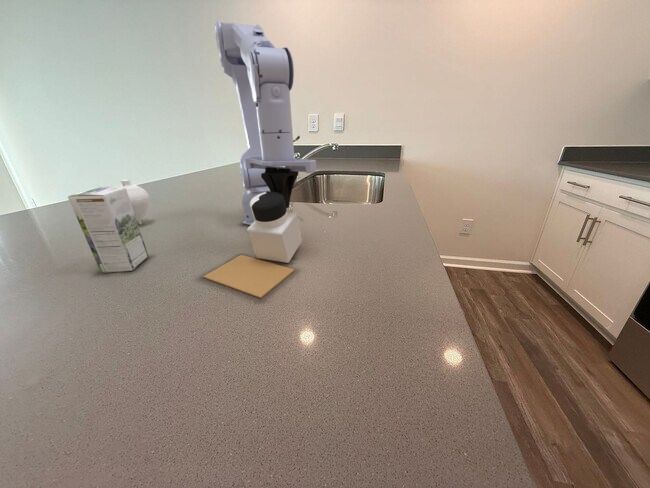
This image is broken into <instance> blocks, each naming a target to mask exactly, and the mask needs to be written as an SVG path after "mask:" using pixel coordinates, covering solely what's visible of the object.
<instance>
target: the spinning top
mask: <svg viewBox="0 0 650 488" xmlns="http://www.w3.org/2000/svg"><path fill="white" fill-rule="evenodd" d="M120 183H121V186H120V187H123V188H126V190H127V193H128V196H129V199H130V202H131V205H132V208H133V211H134V214H135V217H136V220H137V222H138V224H139V225H142V224H143V223H142V221H143V219H144V217H145V216H146V213H147V211H148V208H149V205H150V200H151V199H150V195H149V193H148V192H147V190H145V189H144V188H142V187H141V186H140V185H135V184H132V182H131V180H130V179H121V180H120Z"/></svg>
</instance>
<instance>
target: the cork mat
mask: <svg viewBox="0 0 650 488" xmlns="http://www.w3.org/2000/svg"><path fill="white" fill-rule="evenodd" d="M294 272H295V269H294V268H291V267H287V266H283V265H280V264H277V263H272V262H269V261H266V260H263V259H259V258H254V257H251V256H248V255H243V254H240V255H238V256H236V257H234V258H233V259H231V260H229V261H227V262H226V263H224V264H222V265H221V266H219V267H216V268H215V269H214V270H212V271H210V272H208V273H207V274H205V275H203V276H202V277H203V279H206V280H208V281H211V282H214V283H217V284H219V285H222V286H225V287H228V288H230V289H233V290H236V291H238V292H242V293H243V294H248V295H250V296H253V297H255V298H258V299H263V298H264V297H265V296H266V295H268V293H270V292H271V291H272V290H273V289H275V288H276V287H277V286H278V285H279V284H281V283H282V282H283V281H284V280H286V279H287V278H288V277H289V276H290V275H292V274H293V273H294Z"/></svg>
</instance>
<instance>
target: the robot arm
mask: <svg viewBox="0 0 650 488" xmlns="http://www.w3.org/2000/svg"><path fill="white" fill-rule="evenodd" d="M214 33H215V41H216V47H217V51H218V56H219V61H220V66H221V67H222V70H223V73H224V74H225V75H227V76H228V77H230V78H231V80H232V82H233V85H234V87H235V91H236V95H237V99H238V103H239V104H238V105H239V110H240V115H241V119H242V124H243V129H244V130H243V131H244V134H245V140H246V145H247V150H246V151H244V153H242V154H241V156H240V157H239V173H240V177H241V183H242V186H243V188H244V189H245V190H244V191H243V193H242V194H241V195H242V196H241V205H242V210H243V216H244V221H242V224H244V225H248V226H250V225H251V224H252V223H253V222H254V221H255V219H254V216H253V213H252V210H251V207H250V201H251V200H252V198H253V197H255V196H256V195H258V194H261V193H264V192H278V193H280V194H282V195H283V196H284V200H285V205H286V209H288V208H290V202H291V196H292V193H293V188H294V186H295V183H296V181H297V178H298V176H299V173H306V174H313V173H317V160H316V159H308V158H300V157H295V148H294V134H293V119H292V118H293V117H292V105H291V93H290V92H291V90H292V88H293V86H294V79H295V78H294V77H295V69H294V68H295V67H294V59H293V56H292V53H291V51H290V48H289V47H287V46H285V47H284V46H283V47H282V48H280V47H275V45H274V44H273V43H272V41H270V40H269V38H268V37H267V36H266V35H265V32H264V29H263V28H262V26H261V25H260V24H256V25H255V24H245V23H238V22H237V23H235V22H227V21H221V20H219V19H217V20H216V22H215V23H214Z"/></svg>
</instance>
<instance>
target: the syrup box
mask: <svg viewBox="0 0 650 488" xmlns="http://www.w3.org/2000/svg"><path fill="white" fill-rule="evenodd" d="M67 199H68V202H69V203H70V206H71V208H72V211H73V212H74V215H75V217H76V220H77V221H78V224H79V226H80V228H81V231H82V233H83V235H84V237H85V240H86V243H87V244H88V247H89V248H90V251H91V253H92V256H93V258H94V260H95V262H96V265H97V267H98V269H99V271H100V273H104V274H105V273H119V272H120V273H121V272H122V273H123V272H132V271H134V270H135V269H136V268H138V267H139V266H140V265H141V264H142V263H144V262H145V261H146V260H147V259H148V258H149V253H148V250H147V247H146V245H145V241H144V238H143V235H142V232H141V229H140V226H139V222H138V221H137V220H136V217H135V214H134V211H133V208H132V205H131V202H130V199H129V196H128V193H127V190H126V188H123V187H121V186H97V187H92V188H89V189H86V190H83V191H81V192H80V191H79V192H77V193H73V194H70V195H68V196H67Z"/></svg>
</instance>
